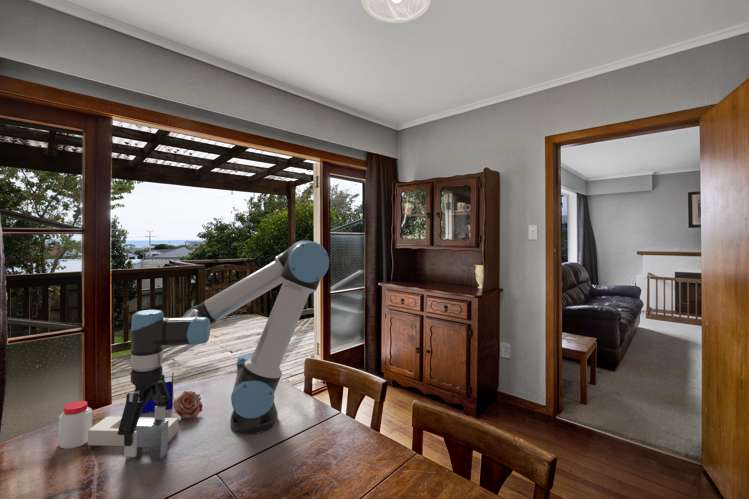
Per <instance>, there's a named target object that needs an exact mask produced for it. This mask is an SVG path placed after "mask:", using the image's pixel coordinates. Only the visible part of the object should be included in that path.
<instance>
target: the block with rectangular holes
mask: <svg viewBox="0 0 749 499" xmlns="http://www.w3.org/2000/svg"><path fill="white" fill-rule="evenodd" d="M121 419H122V416H105V417H104V418H103V419H101V420H100V421H99V422H97V423H96V424H94V425H92V428H90V429H89V430H88V442H87V446H104V447H105V446H110V447H112V446H113V447H124V435H118V434H117V433H118V429H119V426H120V422H121ZM139 419H155V417H150V416H149V417H148V416H147V417H144V416H142V417H141V416H140V418H139ZM165 420H168V441H167V444H168V443H170V441H171V440H172V439H173V438H174V436H176V435H177V433H178V431H179V430H178V429H179V418H178V417H165Z"/></svg>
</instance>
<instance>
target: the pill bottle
mask: <svg viewBox="0 0 749 499" xmlns="http://www.w3.org/2000/svg"><path fill="white" fill-rule="evenodd" d="M92 427H93V409H92V408H91V407H89V406H88V401H86V400H78V401H73V402H69V403H68V404H65V405H64V406H63V412H62V413H61V414H60V415H59V416H58V446H59V448H61V449H75V448H78V447H81V446H84V445H85V444H88V430H89V429H90V428H92Z"/></svg>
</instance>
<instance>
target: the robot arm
mask: <svg viewBox="0 0 749 499" xmlns="http://www.w3.org/2000/svg"><path fill="white" fill-rule="evenodd" d="M329 266H330V257H329V255H328V252H327V249H325V247H324V246H322V245H321V244H320V243H318V242H316V241H312V240H309V239H301V240H299V241H297V242H294V243H293V244H292V245H291V246H290V247H288V248H287V249H285V250H284V251H283V252H281V253H279V254H278V255H276V256H275V257H274V261H272V262H270V263H269V264H266V265H265V266H263V267H262V268H260V269H258V270H256V271H254V272H252V273H251V274H249V275H248V276H246V277H244V278H242V279H241V280H239V281H237V282H236V283H234V284H232V285H230V286H228V287H227V288H225V289H223V290H221V291H219V292H218V293H216V294H214V295H212V296H211V297H210V298H208V299H205V300H204V301H203V302H201V303H199V304H197V305H195V306H191V308H189V309H187V310H186V312H185V313H184V314H183V315H182V316H181V317H165V316H164V312H163V311H162V310H159V309H146V310H144V309H143V310H139V311H136V312H135V313H133V315H132V316H131V327H130V358H131V359H130V368H131V369H130V383H131V384H132V385H133V386H134V387H135V388H134V392H131V393H130V392H128V393H126V398H125V405H124V408H123V412H122V416H121V417H122V419H121V422H120V426H119V429H118V433H117V434H118V435H124V446H123V448H124V449H123V452H124V454H123V455H124V457H125V458H126V457H135V456H136V455H137V431H135V428H136V426H137V423H138V421H139V418H140V417H141V415H142V414H141V413H142V410H143V407H144V406H146V404H147V402H148V401H149V400H150V399H151V398H152V399H153V401H154V402H155V403H156V404H157V405H158V406H155V412H154V418H155V419H159V420H165V418H166V410H165V405H169V401H167V400H170V395H169V392H168V389H167V386H166V383H165V376H164V375H162V373H163V365H162V364H163V362H164V358H163V356H164V355H163V354H164V353H163V350H164V349H163V348H164V346H182V345H183V346H184V345H187V346H188V345H194V346H196V345H203V344H207V343H208V342H209V341H210V336H211V335H210V334H211V325H213V324H215V323H217V322H218V321H219V320H221V319H223V318H225V317H226V316H228V315H230V314H231V313H233V312H235V311H236V310H238V309H240V308H241V307H243V306H245V305H247V304H249V303H250V302H252V301H254V300H255V299H257V298H258V297H260V296H262V295H263V294H265V293H267V292H269V291H271V290H272V289H274V288H276V287H278V286H279V285H280V284H282V285H281V287H280V289H279V292H278V295H277V296H276V299H275V301H274V305H273V306H272V309H271V311H270V312H269V313H270V314H269V317H268V319H267V320H266V323H265V325H264V328H263V331H262V333H261V335H260V337H259V341H258V343H257V345H256V348H255V350H254V352H252V353H251V352H250V353H245V354H242V355H239V357H238V358H237V360H236V361H237V362H236V377H235V381H234V386H233V390H232V392H231V396H230V400H231V405H232V406H231V407H232V408H233V410H232V413H231V416H230V423H229V424H230V428H231V430H232V431H234V430H235V431H234V432H236V433H238V432H239V433H238V434H243V433H254V434H258V433H257V432H260V433H262V432H261V431H263V432H265V431H264V430H266V431H268V430H270V429H271V427H272V426H273V425H274V424H275V423H276V422H278V420H279V419H278V418H279V416H278V414H279V412H278V410H277V407H276V404H275V392H276V390H277V387H278V384H279V382H280V381H281V380H280V379H281V377H282V375H283V373H282V372H283V371H282V370H281V364H282V362H283V359H284V357H285V355H286V352H287V350H288V347H289V345H290V342H291V340H292V338H293V336H294V333H295V331H296V327H297V325H298V323H299V321H300V318H301V315H302V313H303V310H304V308H305V306H306V302H307V300H308V299H309V296H310V294H312V293H314V292H316V291H317V289H318V287H319V285H320V282H321V280H322V278H323V277H324V276H325V275H326V273H327V272H328V271H329ZM276 424H277V423H276ZM276 424H275V425H276ZM275 425H274V426H275ZM274 426H273V427H274ZM273 427H272V428H273ZM269 428H270V429H269ZM267 429H268V430H267Z"/></svg>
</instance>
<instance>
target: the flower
mask: <svg viewBox="0 0 749 499" xmlns="http://www.w3.org/2000/svg"><path fill="white" fill-rule="evenodd" d="M201 399H202V396H201V393H199V394H198V393H196V392H195V391H192V390H190V391H183V392H182V393H181V394H180V395H179V396H178V397H176V398H175V399H173V408H174V411H171V412H170V413H173V414H174V413H175V414H177V416H178V417H180V418H181V421H183V420H185V419H189V418H192V417H193V418H195V419H196V418H197V416H199V414H200V413H201V412H202V411H203V402H202V401H201Z"/></svg>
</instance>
